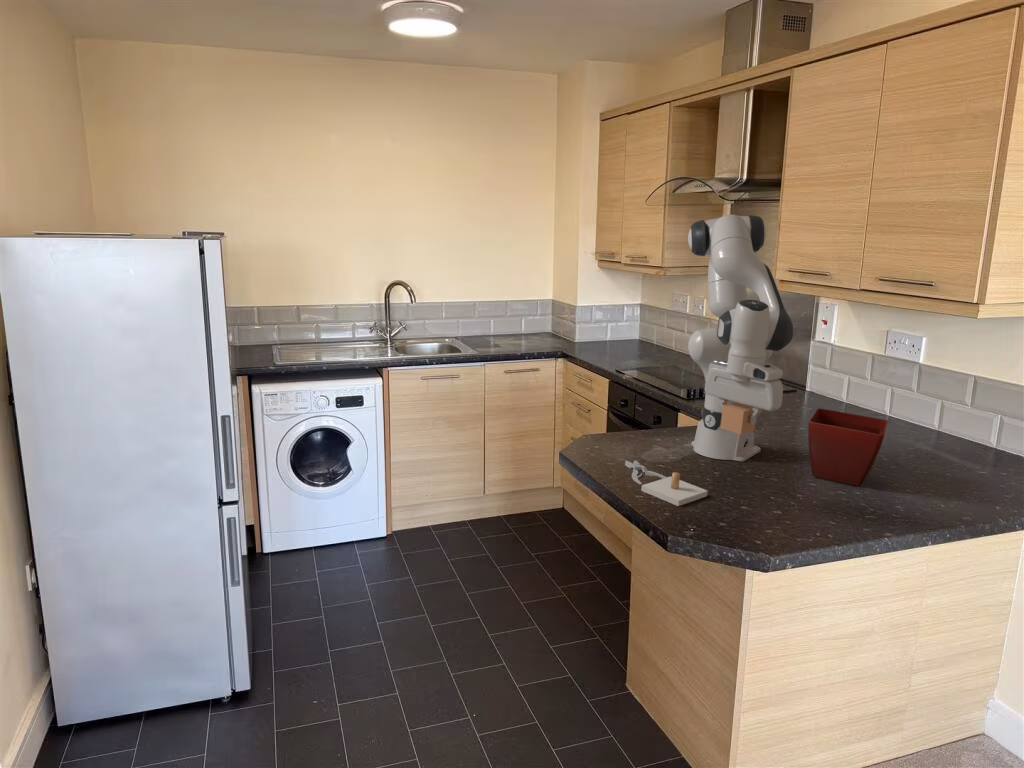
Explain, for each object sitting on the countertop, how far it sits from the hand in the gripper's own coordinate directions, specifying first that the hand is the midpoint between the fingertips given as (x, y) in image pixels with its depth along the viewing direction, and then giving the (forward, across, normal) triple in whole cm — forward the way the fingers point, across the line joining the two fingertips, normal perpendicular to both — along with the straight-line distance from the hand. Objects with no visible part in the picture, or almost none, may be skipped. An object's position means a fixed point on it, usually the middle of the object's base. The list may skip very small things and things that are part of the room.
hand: (738, 419), depth 179 cm
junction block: (+21, -10, -10) cm, 25 cm away
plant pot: (+21, +9, +43) cm, 48 cm away
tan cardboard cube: (+3, 0, 0) cm, 3 cm away
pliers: (+22, -24, -6) cm, 33 cm away
